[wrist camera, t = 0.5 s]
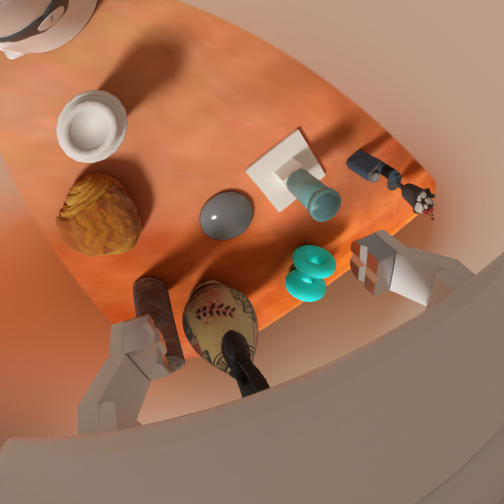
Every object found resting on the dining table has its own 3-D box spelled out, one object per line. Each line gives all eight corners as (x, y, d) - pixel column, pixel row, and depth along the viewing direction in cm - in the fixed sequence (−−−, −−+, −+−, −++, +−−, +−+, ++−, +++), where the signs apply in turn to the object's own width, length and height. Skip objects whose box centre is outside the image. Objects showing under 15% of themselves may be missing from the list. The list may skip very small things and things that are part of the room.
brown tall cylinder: (164, 270, 56) (182, 353, 41) (170, 295, 60) (189, 374, 46) (128, 278, 54) (135, 363, 39) (137, 302, 58) (148, 383, 44)
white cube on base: (244, 169, 49) (253, 180, 45) (296, 128, 47) (310, 135, 43) (277, 210, 57) (288, 223, 53) (323, 173, 55) (336, 183, 51)
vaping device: (365, 155, 56) (403, 179, 47) (348, 169, 56) (385, 196, 48) (361, 146, 54) (400, 169, 45) (343, 161, 55) (382, 187, 46)
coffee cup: (117, 149, 39) (109, 177, 30) (66, 132, 33) (43, 156, 25) (141, 95, 35) (140, 106, 26) (88, 77, 30) (68, 82, 21)
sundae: (384, 196, 65) (425, 229, 54) (385, 174, 61) (430, 205, 50) (402, 188, 66) (443, 219, 55) (403, 166, 61) (447, 195, 50)
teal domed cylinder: (279, 180, 47) (305, 206, 40) (303, 161, 46) (333, 183, 40) (293, 201, 51) (319, 227, 44) (316, 182, 50) (345, 206, 43)
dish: (188, 217, 51) (189, 219, 50) (230, 180, 49) (232, 182, 49) (222, 246, 57) (223, 248, 57) (260, 214, 56) (262, 216, 55)
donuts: (323, 241, 67) (346, 267, 60) (311, 273, 73) (331, 300, 65) (286, 243, 63) (308, 272, 56) (276, 277, 69) (295, 307, 62)
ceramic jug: (236, 313, 72) (283, 418, 50) (176, 320, 66) (209, 437, 44) (249, 261, 62) (314, 379, 40) (178, 265, 56) (217, 404, 34)
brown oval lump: (121, 155, 41) (116, 165, 35) (151, 234, 50) (153, 256, 44) (49, 189, 39) (34, 205, 32) (85, 262, 48) (78, 286, 41)
